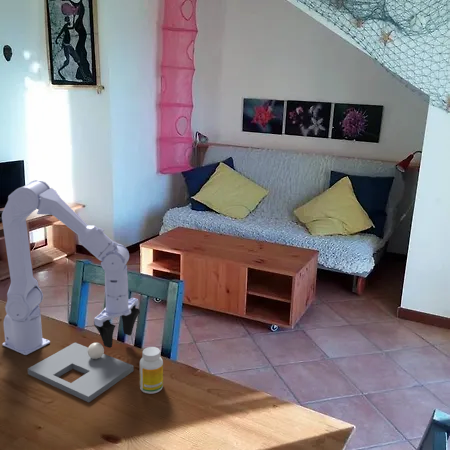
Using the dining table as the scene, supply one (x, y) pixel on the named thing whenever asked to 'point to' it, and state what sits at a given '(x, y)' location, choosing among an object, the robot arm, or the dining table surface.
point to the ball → (95, 350)
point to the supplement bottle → (151, 371)
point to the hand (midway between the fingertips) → (118, 340)
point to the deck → (79, 360)
